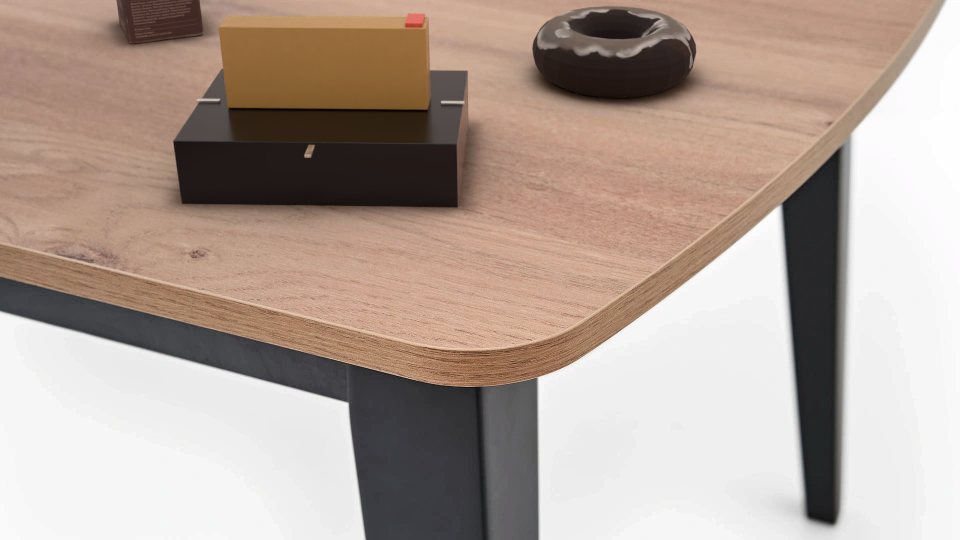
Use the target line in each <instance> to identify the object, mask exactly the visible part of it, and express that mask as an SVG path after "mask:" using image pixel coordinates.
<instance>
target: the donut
mask: <svg viewBox="0 0 960 540" xmlns="http://www.w3.org/2000/svg"><path fill="white" fill-rule="evenodd" d="M531 48H532V56H533V61H534V64H535V66H536V68H537V70H538V72H539V73H540V74H541V75H542V76H543V77H544V78H545V79H547V80H548V81H549V82H550V83H551V84H554V85H556V86H558V87H560V88H562V89H565V90H567V91H569V92H572V93H576V94H580V95H584V96H589V97H590V96H591V97H597V98H598V97H599V98H607V99H608V98H610V99H611V98H613V99H615V98H616V99H626V98H639V97H644V96H649V95H654V94H655V95H656V94H658V93H661V92H663V91H666V90H669V89H671V88H673V87H675V86H678V84H679V83H680V82H681V81H683V80H684V79H686V77H687V76H689V74H690V73H691V71H692V70H693V67H694V64H695V59H696V56H697V44H696V41H695V39H694V37H693V35H692V34H691V32H690V30H689V29H688V28H687V27H686V26H685V25H684V24H683V23H682V22H680V21H678V20H677V19H676V18H673V17H672V16H670V15H667V14H664V13H662V12H660V11H655V10H651V9H647V8H640V7H634V6H633V7H631V6H617V5H616V6H615V5H603V6H589V7H588V6H587V7H582V8H577V9H571V10H569V11H565V12H562V13H560V14H558V15H556V16H554V17H552V18H550V19H549V20H546V21H545V22H544V24H542V26H541V27H540V28H539V29H538V32H537V33H536V35H535V37H534V39H533V41H532V47H531Z"/></svg>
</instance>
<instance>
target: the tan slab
mask: <svg viewBox="0 0 960 540" xmlns="http://www.w3.org/2000/svg"><path fill="white" fill-rule="evenodd" d="M218 35H219V44H220V52H221V61H222V63H221V64H222V69H223V72H224V80H225V89H226V98H227V106H228V108H298V109H400V110H428V107H429V102H430V97H431V86H430V70H431V53H430V21H429V17H428V16H426V14H425V13H416V12H415V13H414V12H413V13H409V12H408V13H407V15H406V16H355V15H354V16H349V15H348V16H346V15H344V16H343V15H342V16H341V15H340V16H339V15H338V16H336V15H335V16H333V15H331V16H330V15H323V16H322V15H321V16H320V15H226V16H225V18H223V20H222V21H221V23H220V24H219V25H218Z"/></svg>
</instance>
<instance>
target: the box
mask: <svg viewBox="0 0 960 540" xmlns="http://www.w3.org/2000/svg"><path fill="white" fill-rule="evenodd" d="M116 8H117V14H118V15H117V16H118V23H119V25H120V28H121V30H122V32H123V33H124V35H125V37H126V39H127V41H128V43H129V44H140V43H149V42H156V41H162V40H170V39H171V40H172V39H179V38H188V37H189V38H191V37H195V36H197V37H198V36H202V35H203V34H204V33H205V32H204V24H203V16H202V8H201V1H200V0H116Z"/></svg>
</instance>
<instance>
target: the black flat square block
mask: <svg viewBox="0 0 960 540" xmlns="http://www.w3.org/2000/svg"><path fill="white" fill-rule="evenodd" d="M430 86H431V97H430V102H429V107H428V110H400V109H298V108H228V106H227V98H226V89H225V80H224V72H223V68H221V69H220V71H219V72H218V74H217V75H216V76H215V77H214V80H213V81H212V82H211V84H210V85H209V87H208V88H207V89H206V91H205V93H204V94H203V96H202V97H201V98H197V99H196V100H195V102H196V104H197V105H196V106H195V108H194V109H193V110H192V112H191V113H190V115H189V117H188V118H187V120H185V123H184V124H183V126H182V127H181V129H180V130H179V131H178V133H177V135H176V136H175V138H174V139H173V140H172V144H173V152H174V159H175V165H176V174H177V179H178V180H177V181H178V187H179V194H180V201H181V205H225V206H226V205H227V206H228V205H229V206H230V205H232V206H233V205H235V206H304V207H305V206H306V207H307V206H308V207H309V206H311V207H312V206H313V207H314V206H315V207H317V206H318V207H319V206H320V207H385V208H386V207H387V208H389V207H390V208H459V203H460V195H461V188H462V180H463V173H464V166H465V165H464V164H465V157H466V150H467V143H468V142H467V141H468V133H469V71H468V70H452V69H451V70H448V69H447V70H445V69H443V70H441V69H439V70H436V69H434V70H433V69H430Z"/></svg>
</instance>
